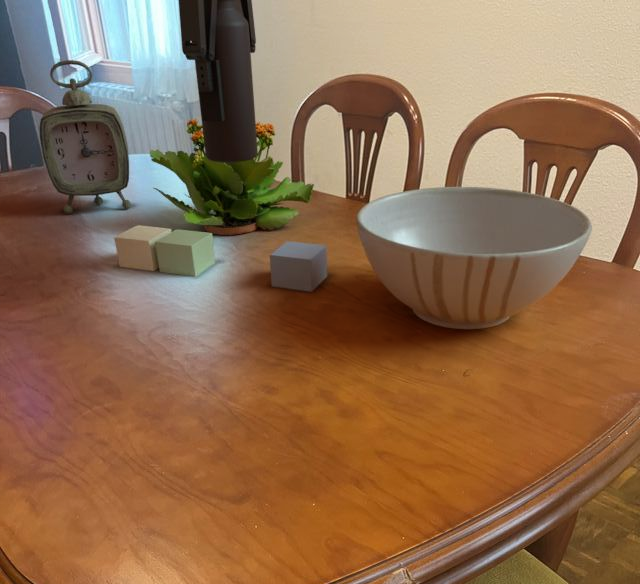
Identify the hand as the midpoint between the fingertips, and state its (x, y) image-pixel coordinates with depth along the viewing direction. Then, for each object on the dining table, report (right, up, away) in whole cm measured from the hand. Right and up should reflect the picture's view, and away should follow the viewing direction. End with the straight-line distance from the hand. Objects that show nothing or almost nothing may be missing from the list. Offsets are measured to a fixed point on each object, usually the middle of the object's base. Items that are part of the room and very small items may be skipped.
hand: (227, 115), depth 83 cm
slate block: (+9, -19, +9) cm, 23 cm away
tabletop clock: (-31, +3, +44) cm, 54 cm away
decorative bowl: (+30, -25, +1) cm, 39 cm away
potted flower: (-5, -5, +32) cm, 32 cm away
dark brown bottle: (0, -4, +3) cm, 5 cm away
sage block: (-8, -16, +15) cm, 23 cm away
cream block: (-15, -15, +17) cm, 27 cm away
